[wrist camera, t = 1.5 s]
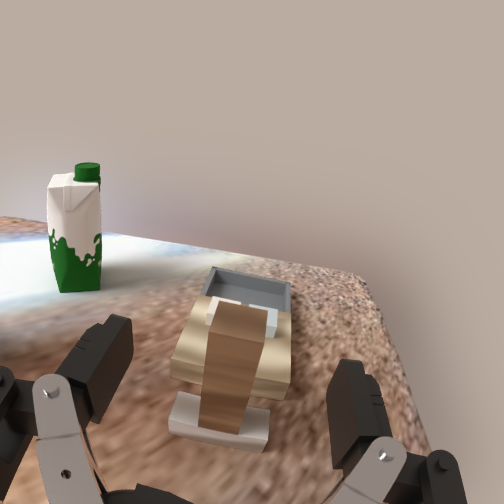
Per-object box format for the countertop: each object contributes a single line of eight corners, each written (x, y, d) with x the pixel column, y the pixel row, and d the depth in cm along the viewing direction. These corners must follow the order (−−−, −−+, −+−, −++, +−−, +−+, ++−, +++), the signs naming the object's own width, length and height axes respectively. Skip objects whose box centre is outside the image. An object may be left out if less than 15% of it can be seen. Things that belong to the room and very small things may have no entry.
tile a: (234, 330, 41) (237, 319, 40) (205, 324, 41) (206, 312, 40) (238, 313, 45) (241, 302, 44) (211, 307, 45) (212, 296, 44)
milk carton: (105, 292, 48) (102, 171, 40) (53, 296, 44) (41, 174, 35) (102, 266, 55) (102, 159, 46) (57, 268, 51) (50, 161, 42)
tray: (285, 329, 49) (290, 314, 48) (197, 311, 49) (199, 295, 48) (286, 296, 58) (290, 282, 56) (210, 280, 58) (212, 266, 56)
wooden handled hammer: (261, 453, 29) (305, 350, 22) (168, 433, 29) (168, 321, 22) (264, 424, 32) (304, 317, 25) (178, 406, 32) (183, 292, 26)
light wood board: (282, 400, 36) (290, 383, 34) (170, 377, 36) (170, 358, 35) (285, 331, 48) (291, 313, 47) (197, 312, 49) (199, 294, 47)
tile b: (273, 338, 41) (276, 327, 40) (243, 332, 41) (246, 321, 40) (274, 320, 45) (277, 309, 44) (247, 315, 45) (249, 303, 44)
